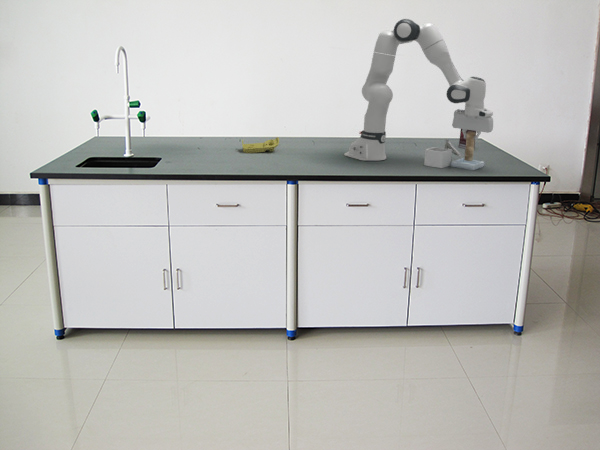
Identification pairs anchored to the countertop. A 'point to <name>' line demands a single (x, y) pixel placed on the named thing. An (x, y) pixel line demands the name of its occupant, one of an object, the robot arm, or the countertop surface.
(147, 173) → the countertop surface
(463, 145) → the supplement box
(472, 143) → the dowel
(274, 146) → the plastic component
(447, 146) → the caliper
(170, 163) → the countertop surface
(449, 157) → the white open box
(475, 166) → the tray
